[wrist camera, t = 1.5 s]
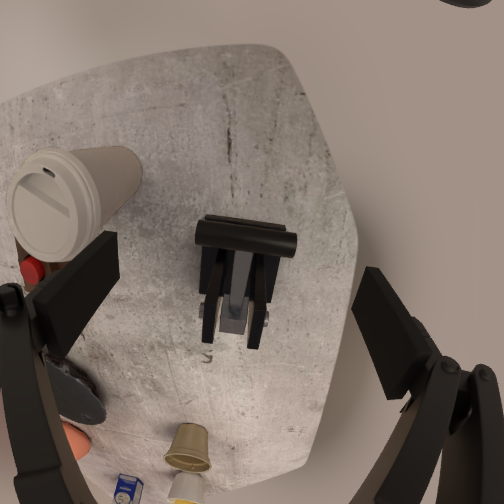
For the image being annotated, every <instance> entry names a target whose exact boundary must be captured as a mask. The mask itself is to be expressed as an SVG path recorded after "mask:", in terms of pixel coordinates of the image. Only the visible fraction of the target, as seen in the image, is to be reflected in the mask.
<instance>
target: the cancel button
mask: <svg viewBox="0 0 504 504" xmlns="http://www.w3.org/2000/svg"><path fill="white" fill-rule="evenodd" d="M20 271H21V274H22V276H23V278H24V279H25V280H26V281H27V282H28V283H29V284H32V285H35V284H37V283H38V282H39V281H40V280H41V279H42V278H43V277H44V275H45V270H44V266H43V265H42V263H41V261H40V260H39V259H37V258H35V257H33V256H29V257H28V258H26V259H25V260H24V261H23V262H22V263H21V265H20Z"/></svg>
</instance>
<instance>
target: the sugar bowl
mask: <svg viewBox="0 0 504 504" xmlns="http://www.w3.org/2000/svg"><path fill="white" fill-rule="evenodd" d="M62 424H63V427H64V430H65V433H66V436H67V439H68V441H69V444H70V447H71V449H72V452H73V454H74V457H75V459H76V460H79V459H80V458H82V457H84V456H85V455H86V454H87V453H88V452H89V450H90V448H91V445H90V442H89V439H88V438H87V436H86V434H85V433H83V432H81V431H79V430H78V429H76V428H75V427H73V426H71V425H70V424H69V423H67V422H65V423H62Z"/></svg>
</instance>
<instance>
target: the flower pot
mask: <svg viewBox="0 0 504 504" xmlns="http://www.w3.org/2000/svg"><path fill="white" fill-rule="evenodd" d="M163 460H164V462H165V463H166V464H168V465H169V466H171V467H173V468H175V469H178V470H182V471H186V472H191V473H203V472H207V471H209V470H210V469H211V467H212V466H211V464H210V460H209V458H208V432H207V431H206V430H205V428H203V427H201V426H199V425H196V424H191V423H190V424H182V425H180V426H179V427H178V430H177V432H176V435H175V437H174V440H173V442H172V445H171V447H170V450H168V452H167V454H166V455H164V457H163Z"/></svg>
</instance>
